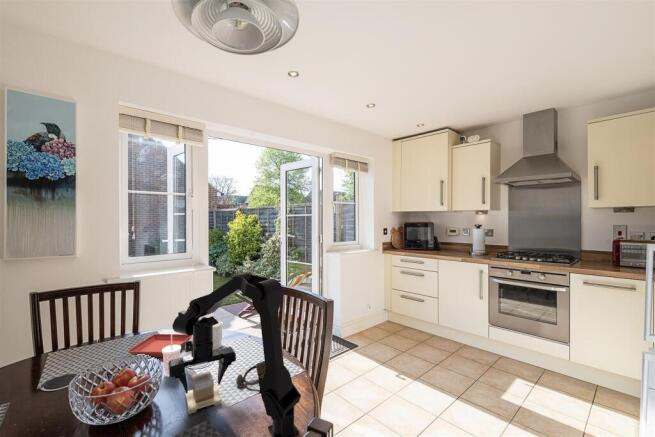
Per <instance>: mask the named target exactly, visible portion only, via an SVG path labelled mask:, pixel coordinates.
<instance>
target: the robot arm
mask: <svg viewBox="0 0 655 437" xmlns="http://www.w3.org/2000/svg"><path fill="white" fill-rule="evenodd" d="M239 292H241V293H242V295H243V296H244V297H245V298H248V299H250V300H251V303H252V306H253V309H254V310H255V311H256V312H257V314H258V315H259V320H260V331H261V339H262V349H263V350H262V351H263V359H264V360H263V361H265V373H264V374H263V375H262V376H260V377H259V378H258V377H257V378H258V379H257V381H258V383H259V384H258V386H259V387H258V388H259V390H258V394H259V395H260V397H261V399H262V400H261V401H262V402H263V406H264V410H265V412H266V413H265V414H266V415H267V416H268V417H270V418H271V420H272V424H271V425H268V427H267V430H268V432H269V434H270V435H271V437H296V436H299V435H300V430H299V429H298V427H297V426H296V425H295V406H296V405H297V404H298V403H300V400H301V398H302V395H301V393H300V392H299V391H298V389H297V387H296V386H295V384H294V383H293V380H292V375H291V373H290V370H289V369H288V368H287V366H285V362H284V355H283V354H284V353H283V352H284V351H283V344H282V337H281V327H280V326H281V325H280V319H279V318H280V317H279V310H280V308H281V307H280V306H281V304H282V300H283V297H282V296H283V286H282V284H281V282H280V281H278V280H277V279H275V278H268V277H266V276H261V275H255V274H252V273H250V272H242V273H238V274H236V275H234V276H233V277H232V278H231V279H230V280H228V281H227V282H225V283H224V284H222V285H221V286H219V287H217V288H216V289H215V290H212V292H210V293H209V294H208V293H207V294H205V295H203V296H199V297H197V298H194V299H192V300H190V301H189V303H188V305H189V306H188V307H187V309H186V310H181V311H178V312H177V313H178V314H177V316H176V317H175V319H174V320H173V323H172V325H171V326H172V330H173V331H174V332H175V333H178V334H185V335H189V336H191V335H192V340H189V341H187V342H185V345H184V350H185V353H189V352H191V353H190V354H191V355H190V356H191V358H192V359H188V360H184V358H183V357H181V356H180V358H177V359H172V360H170V361H169V362H168V370H169V376H168V377H169V378H174V379H178V380H179V381H180V383H181V384H182V386H183V389H184V393H185V392H186V394H187V393H188V391H189V388H188V387H189V386H188V381H187V374H186V370H185V369H187V368H191V367H195V366H200V365H203V364H208V363H212V362H216V361H218V370H217V385H220V384H221V382H222V380H223V378H224V375H225V373H226V371H227V370H228V368H229V367H230V366H232V364H233V363H234V362H236V361H237V355H236V352H235V350H234V348H233V347H232V346H226V347H222V348H219V350H218V352H219V353H215V354H214V350H213V325H215V324H218V321H219V320H217V319H216V318H215V317H214V316H213V315H211V314H213V313H216V311H217V310H218V309H219V308H220V307H221V304H222V303H224V302H225V301H227V300H228V299H229V298H231V297H233V296H234V295H236V294H238V293H239ZM208 315H211V316H209V317H208ZM206 316H207V317H206Z"/></svg>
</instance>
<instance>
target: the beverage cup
mask: <svg viewBox="0 0 655 437" xmlns="http://www.w3.org/2000/svg"><path fill="white" fill-rule="evenodd" d="M170 334H171V345H170V346H167V347H165V348H163V349H162V353H163V357H162V358H163V372H164V376H165V377H169V370H168V362H169V361H170V360H172V359H177V358H181V350H182V347H181V346H180V345H172V334H173V333H170Z"/></svg>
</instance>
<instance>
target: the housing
mask: <svg viewBox="0 0 655 437" xmlns="http://www.w3.org/2000/svg"><path fill="white" fill-rule="evenodd" d="M214 381H215V380H214V378H213V375H212V373H211V371H210V370H209V371H205V372H200V373H196V374H193V375H192V390H193V395H194V399H195V402H196V403H199V402H202V401H206V400H209V399H212V398H214V384H215V382H214Z"/></svg>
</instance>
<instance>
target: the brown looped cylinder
mask: <svg viewBox="0 0 655 437" xmlns="http://www.w3.org/2000/svg"><path fill="white" fill-rule="evenodd" d="M254 369H256V373H257V378H259V377H260V376H262V375H263V374H264V373H265V360H263V361H259V362H258V363H255V365H253V366H252V367H250V368H248V370H246V371H245V372H244V374H243V375H242V374H238V375H237V377H236V381H235V383H236V385H237V387H238V388H242V387H243V386H244V383H245V384H246V385H247V386H256V385H259V383H258V380H256V381H253V382H248V381H247V380H246V377H247V376H248V374H249V373H250V372H251V371H252V370H254Z"/></svg>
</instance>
